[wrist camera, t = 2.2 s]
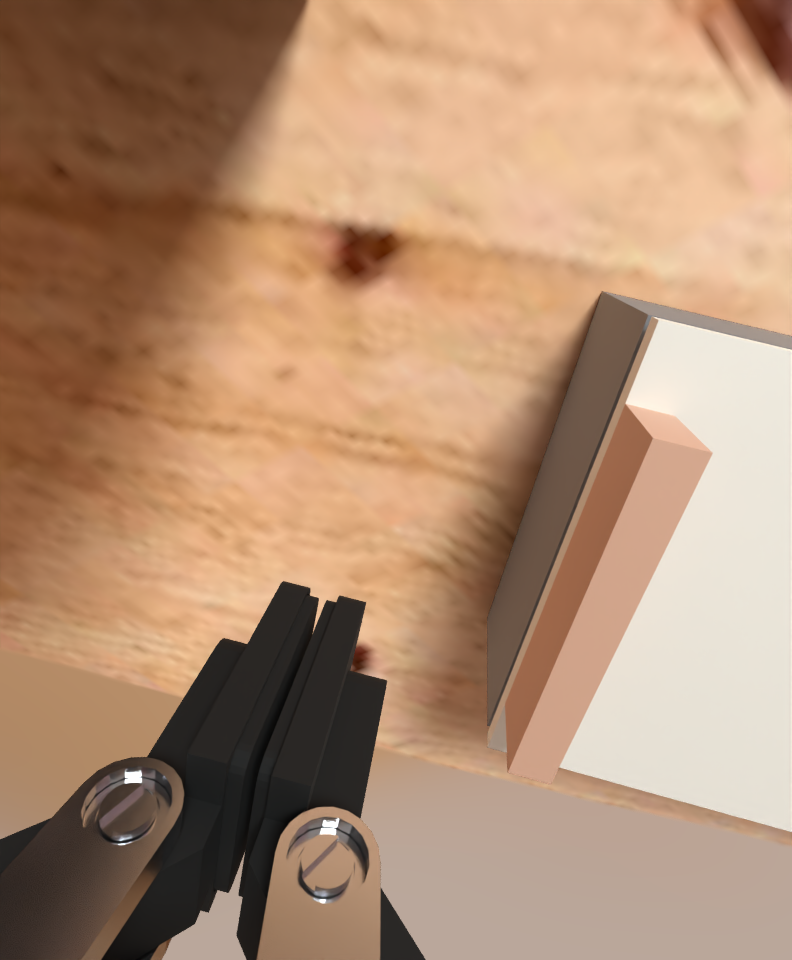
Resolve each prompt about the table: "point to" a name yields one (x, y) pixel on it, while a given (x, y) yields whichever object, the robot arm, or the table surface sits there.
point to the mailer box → (576, 465)
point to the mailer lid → (673, 591)
